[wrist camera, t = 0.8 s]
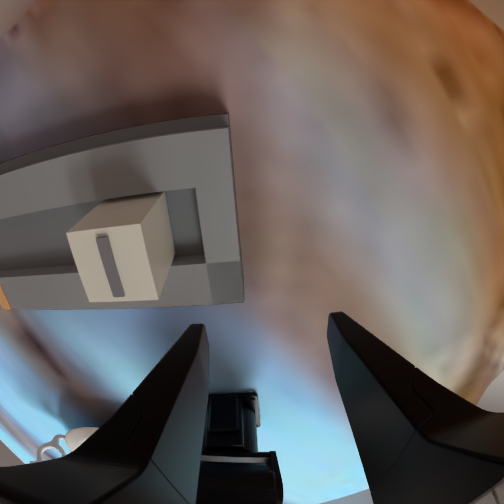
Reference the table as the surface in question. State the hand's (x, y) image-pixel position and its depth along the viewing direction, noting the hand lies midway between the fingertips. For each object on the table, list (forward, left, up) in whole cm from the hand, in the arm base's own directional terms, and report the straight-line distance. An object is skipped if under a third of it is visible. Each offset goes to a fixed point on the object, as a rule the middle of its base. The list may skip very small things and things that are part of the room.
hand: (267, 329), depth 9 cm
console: (0, +14, -12) cm, 18 cm away
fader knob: (0, +7, -10) cm, 12 cm away
